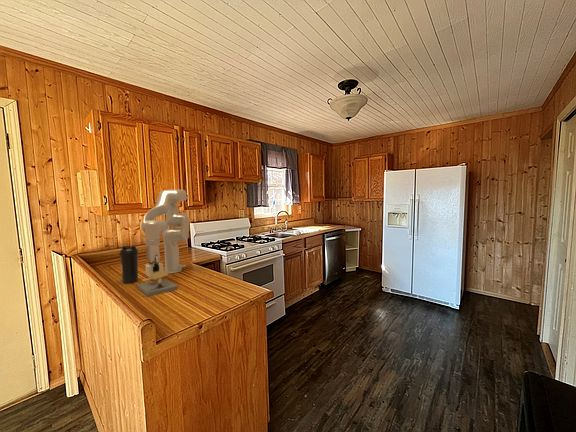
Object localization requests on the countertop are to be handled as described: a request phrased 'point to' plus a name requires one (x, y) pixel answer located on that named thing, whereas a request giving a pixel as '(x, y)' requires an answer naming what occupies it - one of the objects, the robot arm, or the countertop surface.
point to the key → (158, 276)
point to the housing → (156, 287)
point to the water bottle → (129, 264)
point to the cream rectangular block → (150, 268)
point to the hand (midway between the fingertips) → (154, 271)
